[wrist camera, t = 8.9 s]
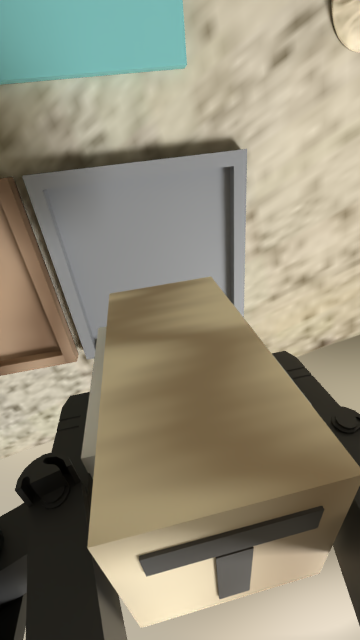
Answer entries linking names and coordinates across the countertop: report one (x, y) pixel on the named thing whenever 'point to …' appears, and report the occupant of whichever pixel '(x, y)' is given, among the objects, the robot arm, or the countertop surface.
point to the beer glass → (347, 22)
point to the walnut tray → (27, 295)
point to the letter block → (206, 458)
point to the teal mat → (89, 38)
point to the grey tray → (142, 229)
